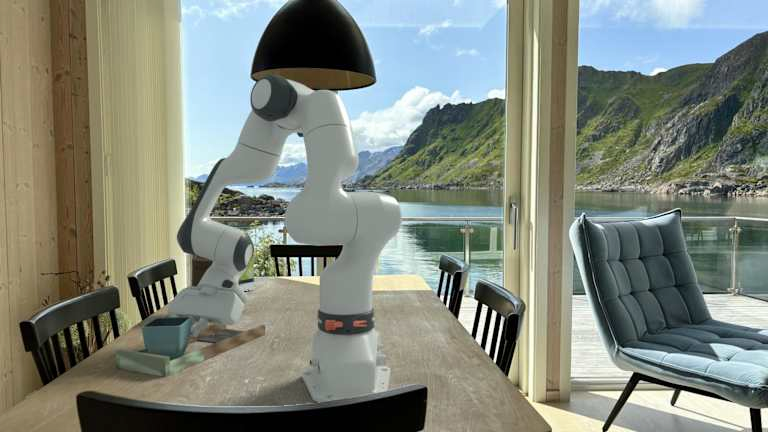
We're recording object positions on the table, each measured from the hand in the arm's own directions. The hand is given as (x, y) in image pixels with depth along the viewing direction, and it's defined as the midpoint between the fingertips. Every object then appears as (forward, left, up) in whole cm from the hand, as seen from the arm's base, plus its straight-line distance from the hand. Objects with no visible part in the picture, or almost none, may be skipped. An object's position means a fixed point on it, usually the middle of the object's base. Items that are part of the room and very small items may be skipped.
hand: (189, 335), depth 128 cm
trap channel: (+3, -2, -4) cm, 6 cm away
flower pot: (-4, +4, -5) cm, 7 cm away
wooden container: (+41, +1, -5) cm, 42 cm away
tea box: (+77, +2, -5) cm, 77 cm away
